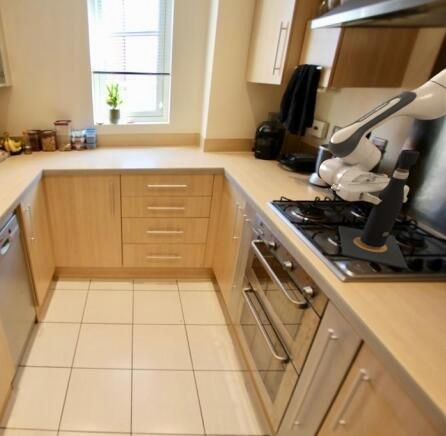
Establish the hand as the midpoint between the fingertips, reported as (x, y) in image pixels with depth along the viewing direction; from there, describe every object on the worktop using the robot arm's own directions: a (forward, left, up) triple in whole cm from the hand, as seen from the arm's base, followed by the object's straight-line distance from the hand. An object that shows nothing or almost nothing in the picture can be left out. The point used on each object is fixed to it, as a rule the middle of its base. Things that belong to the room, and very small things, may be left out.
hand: (392, 201), depth 94 cm
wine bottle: (+1, -1, -15) cm, 15 cm away
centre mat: (+1, -1, -17) cm, 17 cm away
